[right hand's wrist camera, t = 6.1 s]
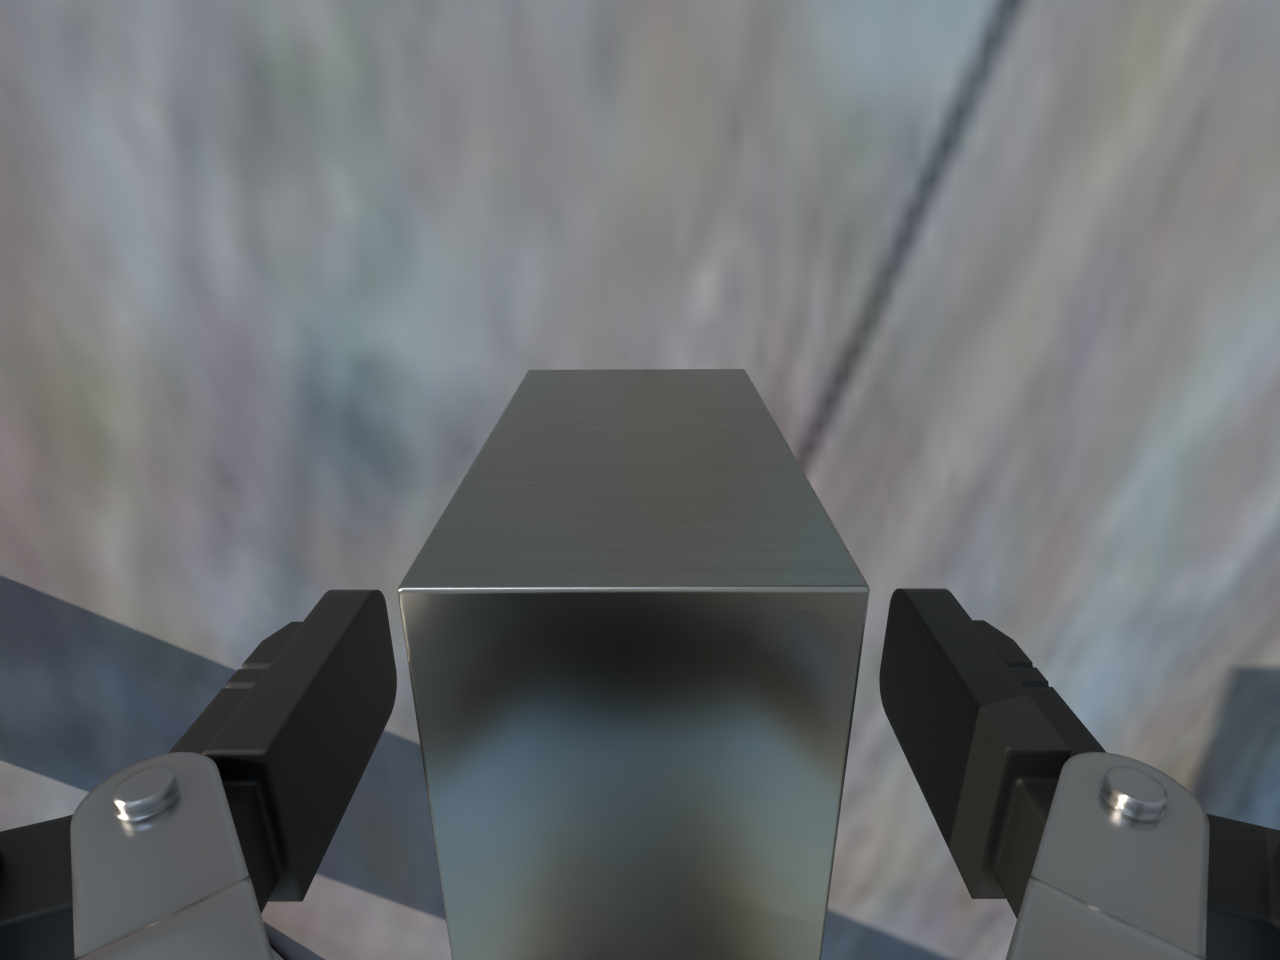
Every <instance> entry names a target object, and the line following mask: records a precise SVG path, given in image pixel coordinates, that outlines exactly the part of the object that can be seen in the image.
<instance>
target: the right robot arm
mask: <svg viewBox="0 0 1280 960" xmlns="http://www.w3.org/2000/svg"><path fill="white" fill-rule="evenodd" d="M396 688H397V674H396V667H395V660H394V653H393V647H392V640H391V633H390V627H389V620H388V614H387V607H386V602H385V598H384V596H383V594H382V592H381V591H379V590H329V591H327V592H326V593H325V594H324V596H323V597H322V598H321V599H320V601H319V602H318V603H317V605H316V606H315V607H314V608H313V610H312V611H311V612H310V614H309V615H308V616H307V617H306V619H305V620H304V621H303V622H291V623H289V624H288V625H286V626H285V627H283V628H282V629H280V630H279V631H277V632H276V633H274V634H273V635H271V636H269V637H268V638H266V639H265V640H263V641H262V642H261V643H260V644H259V645H258V647H257V648H256V649H255V650H254V651H253V653H252V654H251V655H250V656H249V657H248V659H247V660H246V661H245V662H244V663H243V668H242V669H238V671H237V672H236V673H235V674H234V675H233V677H232V678H231V679H230V680H229V681H228V683H227V687H226V689H222V690H221V691H220V692H219V693H218V695H217V696H216V697H215V698H214V699H213V701H212V702H211V703H210V704H209V705H208V707H207V708H206V709H205V710H204V711H203V713H202V714H201V715H200V716H199V717H198V719H197V720H196V721H195V722H194V723H193V725H192V726H191V727H190V728H189V729H188V731H187V732H186V733H185V734H184V735H183V737H182V738H181V739H180V740H179V741H178V743H177V744H176V745H175V746H174V747H173V749H172V750H171V751H170V752H169V753H168V754H163V755H158V756H154V757H151V758H148V759H145V760H142V761H139V762H137V763H135V764H132V765H130V766H128V767H126V768H124V769H122V770H120V771H118V772H117V773H115V774H113V775H112V776H110V777H109V778H107V779H106V780H104V781H103V782H102V783H100V784H99V785H98V786H96V787H95V788H94V789H93V790H92V791H91V792H90V793H89V794H88V795H87V796H86V797H85V798H84V799H83V800H82V801H81V803H80V804H79V806H78V807H77V809H76V810H75V812H74V814H73V815H70V816H66V817H62V818H58V819H54V820H49V821H45V822H41V823H36V824H32V825H28V826H23V827H19V828H15V829H10V830H6V831H2V832H0V960H274V957H273V953H272V950H271V946H270V943H269V940H268V936H267V933H266V929H265V926H264V922H263V919H262V916H261V913H262V911H263V909H264V907H265V906H266V904H267V902H268V901H303V899H304V897H305V895H306V893H307V891H308V889H309V887H310V884H311V882H312V880H313V878H314V876H315V874H316V872H317V870H318V867H319V865H320V863H321V861H322V859H323V857H324V855H325V853H326V851H327V848H328V846H329V844H330V842H331V840H332V838H333V836H334V834H335V832H336V829H337V827H338V825H339V823H340V821H341V819H342V817H343V815H344V813H345V810H346V808H347V806H348V804H349V802H350V800H351V798H352V796H353V794H354V791H355V789H356V787H357V785H358V783H359V781H360V779H361V777H362V775H363V772H364V770H365V768H366V766H367V764H368V762H369V760H370V758H371V755H372V753H373V751H374V749H375V747H376V745H377V743H378V741H379V739H380V736H381V734H382V732H383V730H384V728H385V726H386V724H387V722H388V720H389V717H390V715H391V713H392V710H393V707H394V702H395V697H396ZM880 693H881V699H882V704H883V708H884V711H885V713H886V715H887V718H888V720H889V722H890V724H891V726H892V728H893V730H894V733H895V735H896V737H897V739H898V741H899V743H900V745H901V748H902V750H903V752H904V754H905V756H906V758H907V760H908V763H909V765H910V767H911V769H912V771H913V773H914V775H915V777H916V780H917V782H918V784H919V786H920V788H921V790H922V792H923V795H924V797H925V799H926V801H927V803H928V805H929V807H930V810H931V812H932V814H933V816H934V818H935V820H936V822H937V825H938V827H939V829H940V831H941V833H942V835H943V837H944V840H945V842H946V844H947V846H948V848H949V850H950V852H951V855H952V857H953V859H954V861H955V863H956V865H957V867H958V869H959V872H960V874H961V876H962V878H963V880H964V882H965V884H966V887H967V889H968V891H969V893H970V895H971V897H972V899H1007V900H1008V902H1009V904H1010V906H1011V908H1012V910H1013V912H1014V914H1015V916H1016V918H1017V922H1016V926H1015V929H1014V933H1013V936H1012V940H1011V943H1010V946H1009V950H1008V953H1007V957H1006V960H1280V831H1279V830H1275V829H1270V828H1266V827H1262V826H1257V825H1253V824H1249V823H1244V822H1240V821H1236V820H1231V819H1227V818H1223V817H1218V816H1214V815H1210V814H1206V812H1205V810H1204V809H1203V807H1202V806H1201V804H1200V803H1199V802H1198V800H1197V799H1196V798H1195V797H1194V796H1193V795H1192V794H1191V793H1190V792H1189V791H1188V790H1187V789H1186V788H1185V787H1184V786H1182V785H1181V784H1180V783H1178V782H1177V781H1176V780H1174V779H1173V778H1171V777H1170V776H1168V775H1167V774H1165V773H1163V772H1162V771H1160V770H1158V769H1156V768H1154V767H1152V766H1150V765H1148V764H1145V763H1143V762H1141V761H1138V760H1135V759H1132V758H1129V757H1126V756H1122V755H1117V754H1112V753H1106V751H1105V750H1104V749H1103V748H1102V746H1101V745H1100V744H1099V743H1098V742H1097V740H1096V739H1095V738H1094V737H1093V736H1092V734H1091V733H1090V732H1089V731H1088V730H1087V728H1086V727H1085V726H1084V725H1083V723H1082V722H1081V721H1080V720H1079V719H1078V717H1077V716H1076V715H1075V714H1074V713H1073V711H1072V710H1071V709H1070V708H1069V707H1068V705H1067V704H1066V703H1065V702H1064V700H1063V699H1062V698H1061V697H1060V696H1059V694H1058V693H1057V692H1056V691H1055V690H1054V688H1053V687H1049V686H1048V681H1047V680H1046V679H1045V677H1044V676H1043V675H1042V674H1041V673H1040V671H1039V670H1038V669H1037V668H1033V666H1032V662H1031V661H1030V659H1029V658H1028V657H1027V656H1026V654H1025V653H1024V652H1023V651H1022V650H1021V648H1020V647H1019V646H1018V645H1017V644H1016V642H1015V641H1014V640H1013V639H1011V638H1010V637H1008V636H1007V635H1005V634H1004V633H1002V632H1001V631H999V630H998V629H996V628H994V627H993V626H991V625H990V624H988V623H987V622H985V621H984V620H972V619H971V618H970V617H969V615H968V614H967V613H966V612H965V610H964V609H963V608H962V606H961V605H960V604H959V602H958V601H957V600H956V599H955V597H954V596H953V595H952V593H951V592H950V591H949V590H947V589H896V590H895V591H894V593H893V595H892V597H891V601H890V607H889V614H888V620H887V627H886V634H885V640H884V647H883V654H882V661H881V667H880Z"/></svg>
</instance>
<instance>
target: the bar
mask: <svg viewBox="0 0 1280 960" xmlns="http://www.w3.org/2000/svg"><path fill="white" fill-rule="evenodd" d="M869 590H870V589H869V586H868V584H867V583H866V581H865V579H864V577H863V576H862V574H861V572H860V570H859V569H858V567H857V565H856V563H855V562H854V560H853V558H852V556H851V555H850V553H849V551H848V549H847V548H846V546H845V544H844V542H843V541H842V539H841V537H840V535H839V534H838V532H837V530H836V528H835V527H834V525H833V523H832V521H831V520H830V518H829V516H828V514H827V513H826V511H825V509H824V507H823V506H822V504H821V502H820V500H819V499H818V497H817V495H816V493H815V492H814V490H813V488H812V486H811V485H810V483H809V481H808V479H807V478H806V476H805V474H804V472H803V471H802V469H801V467H800V465H799V464H798V462H797V460H796V458H795V457H794V455H793V453H792V451H791V450H790V448H789V446H788V444H787V443H786V441H785V439H784V437H783V436H782V434H781V432H780V430H779V429H778V427H777V425H776V423H775V422H774V420H773V418H772V416H771V415H770V413H769V411H768V409H767V407H766V406H765V404H764V402H763V400H762V399H761V397H760V395H759V393H758V392H757V390H756V388H755V386H754V385H753V383H752V381H751V379H750V378H749V376H748V374H747V372H746V371H745V370H744V369H674V370H529V371H528V372H527V374H526V376H525V377H524V379H523V381H522V382H521V384H520V386H519V387H518V389H517V391H516V392H515V394H514V396H513V397H512V399H511V401H510V402H509V404H508V406H507V407H506V409H505V411H504V412H503V414H502V416H501V417H500V419H499V421H498V422H497V424H496V426H495V427H494V429H493V431H492V432H491V434H490V436H489V437H488V439H487V441H486V442H485V444H484V446H483V447H482V449H481V451H480V452H479V454H478V456H477V457H476V459H475V461H474V462H473V464H472V466H471V467H470V469H469V471H468V472H467V474H466V476H465V477H464V479H463V481H462V482H461V484H460V486H459V487H458V489H457V491H456V492H455V494H454V496H453V497H452V499H451V501H450V502H449V504H448V506H447V507H446V509H445V511H444V513H443V514H442V516H441V518H440V519H439V521H438V523H437V524H436V526H435V528H434V529H433V531H432V533H431V534H430V536H429V538H428V539H427V541H426V543H425V544H424V546H423V548H422V549H421V551H420V553H419V554H418V556H417V558H416V559H415V561H414V563H413V564H412V566H411V568H410V569H409V571H408V573H407V574H406V576H405V578H404V579H403V581H402V583H401V584H400V586H399V588H398V598H399V604H400V611H401V618H402V625H403V631H404V638H405V645H406V652H407V658H408V665H409V672H410V679H411V685H412V692H413V699H414V706H415V712H416V719H417V726H418V733H419V739H420V746H421V753H422V760H423V766H424V773H425V780H426V787H427V793H428V800H429V807H430V814H431V820H432V827H433V834H434V841H435V847H436V854H437V861H438V868H439V874H440V881H441V888H442V895H443V901H444V908H445V915H446V922H447V928H448V935H449V942H450V949H451V955H452V960H820V959H821V952H822V944H823V936H824V929H825V921H826V914H827V906H828V899H829V891H830V884H831V876H832V869H833V861H834V854H835V846H836V839H837V831H838V824H839V816H840V809H841V801H842V793H843V786H844V778H845V771H846V763H847V756H848V748H849V741H850V733H851V726H852V718H853V711H854V703H855V696H856V688H857V681H858V673H859V666H860V658H861V650H862V643H863V635H864V628H865V620H866V613H867V605H868V598H869Z"/></svg>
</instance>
